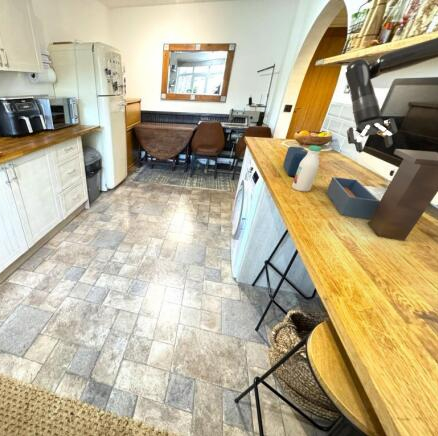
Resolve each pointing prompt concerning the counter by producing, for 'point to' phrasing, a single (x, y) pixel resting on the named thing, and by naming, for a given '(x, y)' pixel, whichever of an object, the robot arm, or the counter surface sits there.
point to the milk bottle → (307, 170)
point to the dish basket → (352, 198)
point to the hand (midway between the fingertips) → (374, 149)
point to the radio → (294, 159)
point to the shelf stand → (406, 195)
